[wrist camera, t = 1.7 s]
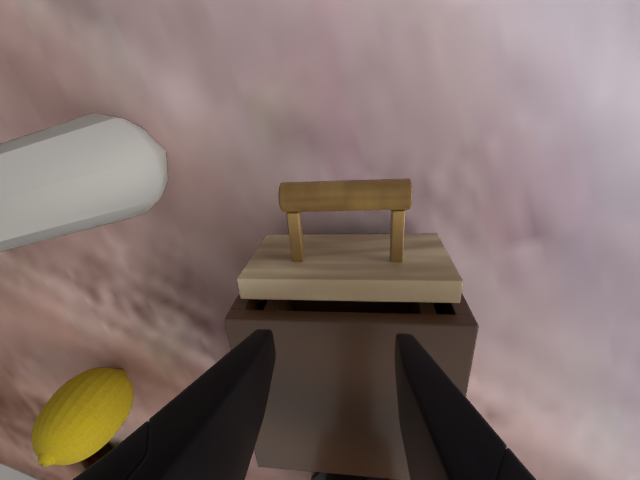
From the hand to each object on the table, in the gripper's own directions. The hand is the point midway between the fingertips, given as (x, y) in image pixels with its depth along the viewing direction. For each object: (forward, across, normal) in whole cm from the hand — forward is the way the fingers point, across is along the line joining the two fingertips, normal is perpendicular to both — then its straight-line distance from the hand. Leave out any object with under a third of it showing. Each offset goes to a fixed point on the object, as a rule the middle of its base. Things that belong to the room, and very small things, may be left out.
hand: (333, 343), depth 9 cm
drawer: (+11, 0, +5) cm, 12 cm away
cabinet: (+12, 0, +9) cm, 15 cm away
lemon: (+12, +21, +15) cm, 28 cm away
